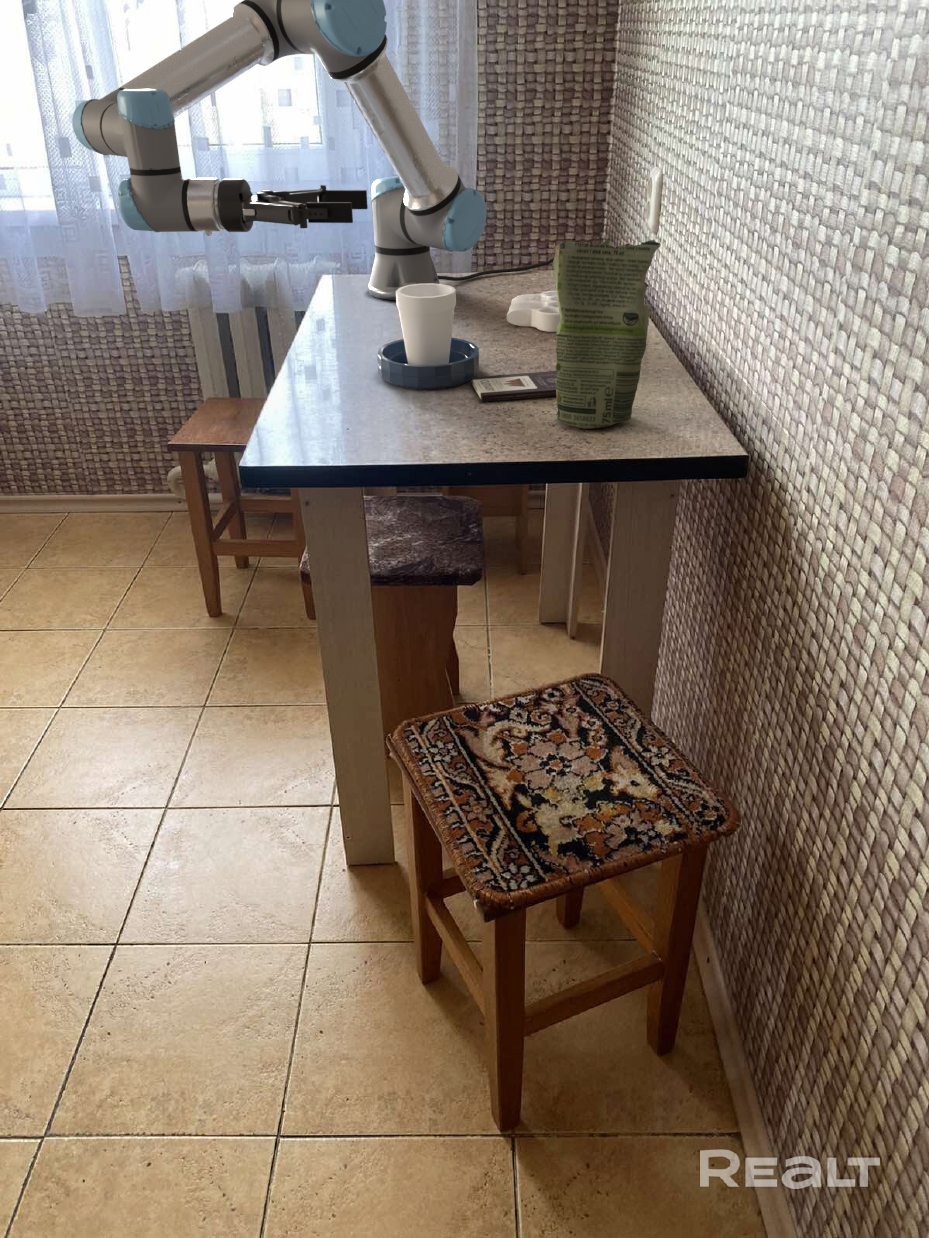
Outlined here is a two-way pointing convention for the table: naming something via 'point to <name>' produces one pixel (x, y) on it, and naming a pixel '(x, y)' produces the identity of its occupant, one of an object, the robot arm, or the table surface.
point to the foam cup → (426, 322)
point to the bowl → (428, 366)
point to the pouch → (600, 330)
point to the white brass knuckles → (535, 311)
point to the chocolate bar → (515, 386)
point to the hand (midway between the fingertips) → (359, 206)
